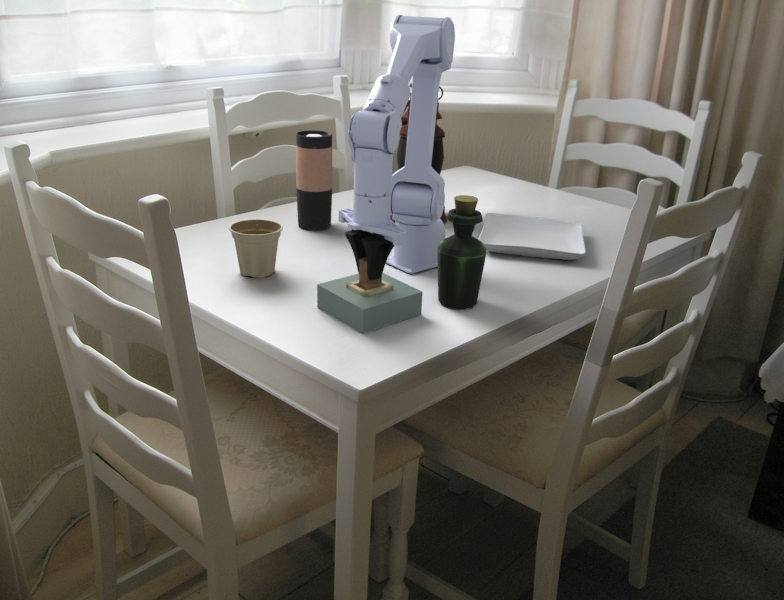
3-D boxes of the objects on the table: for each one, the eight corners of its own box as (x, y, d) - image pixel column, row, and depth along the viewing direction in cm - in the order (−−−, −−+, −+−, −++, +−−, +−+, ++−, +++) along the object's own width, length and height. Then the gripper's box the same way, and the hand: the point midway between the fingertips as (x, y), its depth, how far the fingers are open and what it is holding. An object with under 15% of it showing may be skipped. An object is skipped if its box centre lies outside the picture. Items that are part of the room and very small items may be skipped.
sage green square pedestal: (374, 290, 122) (375, 265, 121) (421, 314, 114) (422, 288, 112) (317, 306, 115) (317, 280, 113) (362, 333, 107) (363, 305, 105)
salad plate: (584, 268, 138) (587, 252, 137) (475, 257, 141) (477, 240, 140) (580, 236, 157) (582, 221, 156) (484, 226, 161) (485, 211, 159)
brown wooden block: (359, 304, 114) (359, 258, 111) (373, 300, 116) (374, 254, 113) (366, 309, 113) (367, 262, 110) (381, 304, 115) (382, 258, 111)
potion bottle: (491, 302, 120) (502, 199, 113) (462, 316, 114) (472, 208, 107) (452, 289, 125) (461, 189, 117) (423, 301, 119) (430, 197, 112)
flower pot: (260, 259, 134) (258, 215, 131) (294, 272, 129) (294, 226, 126) (220, 271, 128) (217, 226, 124) (254, 286, 122) (252, 238, 119)
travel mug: (291, 229, 152) (290, 135, 144) (304, 219, 159) (303, 129, 151) (325, 233, 150) (325, 138, 142) (336, 222, 157) (337, 132, 149)
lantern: (431, 233, 153) (440, 90, 141) (373, 223, 158) (377, 84, 146) (458, 213, 168) (468, 82, 156) (404, 205, 173) (410, 77, 161)
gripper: (323, 185, 109) (322, 267, 115) (382, 207, 99) (379, 296, 105) (359, 179, 114) (357, 259, 119) (419, 200, 104) (414, 286, 109)
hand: (369, 276), depth 112 cm, fingers closed on brown wooden block, 2 cm apart
